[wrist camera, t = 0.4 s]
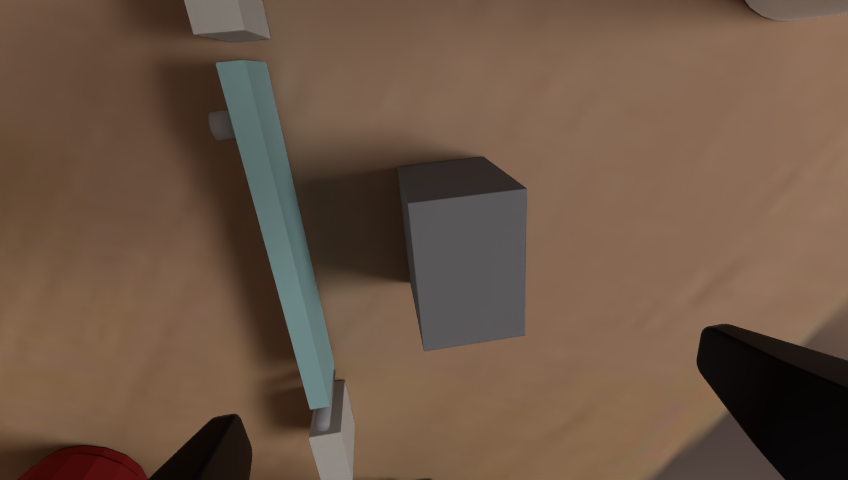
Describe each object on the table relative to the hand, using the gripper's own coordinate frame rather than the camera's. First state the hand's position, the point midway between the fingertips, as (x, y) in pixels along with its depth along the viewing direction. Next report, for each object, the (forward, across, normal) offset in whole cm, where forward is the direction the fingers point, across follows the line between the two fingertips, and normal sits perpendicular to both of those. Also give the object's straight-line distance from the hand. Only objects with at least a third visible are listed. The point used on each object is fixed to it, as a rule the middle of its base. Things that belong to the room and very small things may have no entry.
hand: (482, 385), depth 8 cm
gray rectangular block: (+12, -1, +1) cm, 12 cm away
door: (+12, +6, +1) cm, 13 cm away
